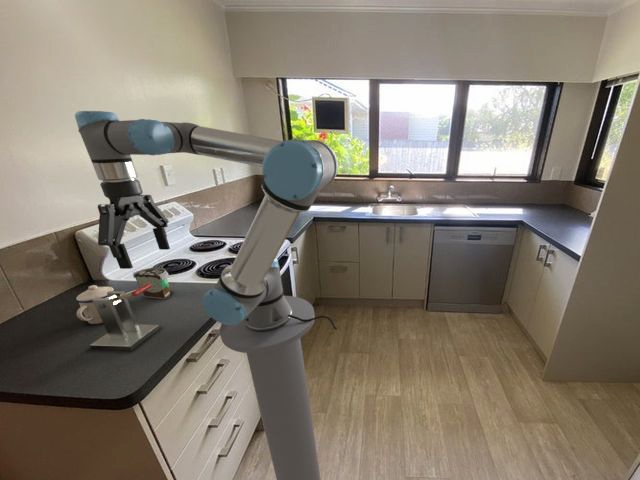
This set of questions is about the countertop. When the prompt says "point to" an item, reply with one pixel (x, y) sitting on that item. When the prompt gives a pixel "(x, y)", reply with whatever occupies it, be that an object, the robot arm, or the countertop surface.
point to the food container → (154, 282)
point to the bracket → (120, 325)
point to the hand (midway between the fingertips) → (147, 258)
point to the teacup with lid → (91, 303)
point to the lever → (129, 294)
